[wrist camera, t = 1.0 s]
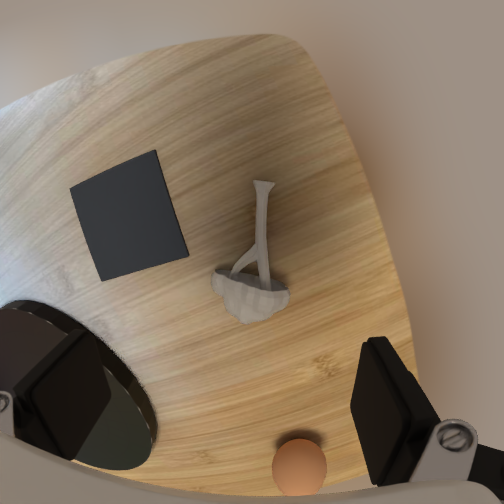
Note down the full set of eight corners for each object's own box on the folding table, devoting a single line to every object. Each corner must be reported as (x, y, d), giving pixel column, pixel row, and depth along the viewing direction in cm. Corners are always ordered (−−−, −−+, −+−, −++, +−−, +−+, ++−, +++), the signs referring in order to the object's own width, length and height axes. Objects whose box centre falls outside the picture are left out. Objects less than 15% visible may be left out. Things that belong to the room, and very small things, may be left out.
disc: (182, 469, 37) (178, 484, 34) (42, 438, 39) (35, 447, 36) (116, 296, 29) (103, 309, 26) (-28, 298, 31) (-40, 305, 28)
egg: (286, 422, 32) (288, 482, 23) (332, 432, 33) (342, 488, 24) (263, 450, 34) (261, 505, 25) (307, 459, 34) (311, 511, 26)
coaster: (71, 188, 26) (69, 188, 26) (155, 149, 25) (154, 149, 24) (102, 280, 28) (101, 281, 28) (189, 255, 27) (188, 256, 27)
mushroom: (301, 182, 21) (279, 341, 23) (307, 189, 26) (289, 322, 27) (211, 174, 23) (196, 322, 25) (231, 181, 27) (218, 308, 29)
